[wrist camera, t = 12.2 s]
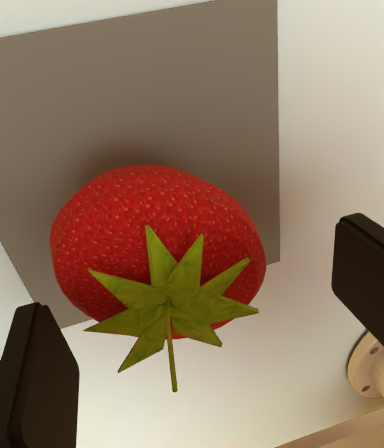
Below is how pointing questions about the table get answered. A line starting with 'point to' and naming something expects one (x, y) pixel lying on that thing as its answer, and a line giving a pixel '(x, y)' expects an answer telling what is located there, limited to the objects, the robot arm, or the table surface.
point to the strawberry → (157, 257)
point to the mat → (136, 119)
